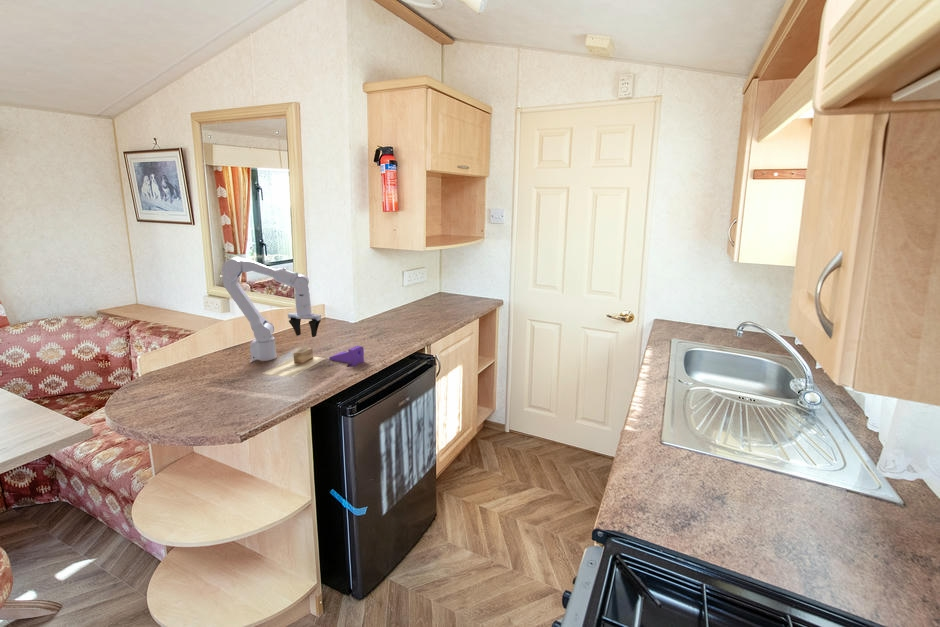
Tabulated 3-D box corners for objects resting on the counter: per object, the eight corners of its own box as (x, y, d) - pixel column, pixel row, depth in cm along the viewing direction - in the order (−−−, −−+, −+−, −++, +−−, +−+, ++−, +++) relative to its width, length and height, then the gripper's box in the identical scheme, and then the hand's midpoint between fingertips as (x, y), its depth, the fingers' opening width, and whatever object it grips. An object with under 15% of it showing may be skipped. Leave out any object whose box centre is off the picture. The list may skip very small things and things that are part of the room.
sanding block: (294, 363, 193) (293, 352, 192) (304, 357, 199) (303, 347, 198) (302, 364, 192) (301, 353, 190) (313, 358, 198) (312, 347, 197)
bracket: (363, 361, 198) (363, 345, 196) (352, 366, 192) (352, 350, 190) (340, 355, 203) (340, 340, 201) (329, 360, 197) (328, 344, 195)
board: (261, 376, 182) (261, 373, 182) (297, 357, 202) (297, 355, 202) (293, 380, 178) (293, 377, 178) (326, 360, 199) (326, 357, 198)
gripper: (281, 305, 196) (285, 337, 199) (312, 307, 192) (315, 339, 195) (292, 301, 202) (295, 332, 206) (322, 303, 198) (325, 334, 202)
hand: (306, 335), depth 201 cm, fingers open, 7 cm apart
